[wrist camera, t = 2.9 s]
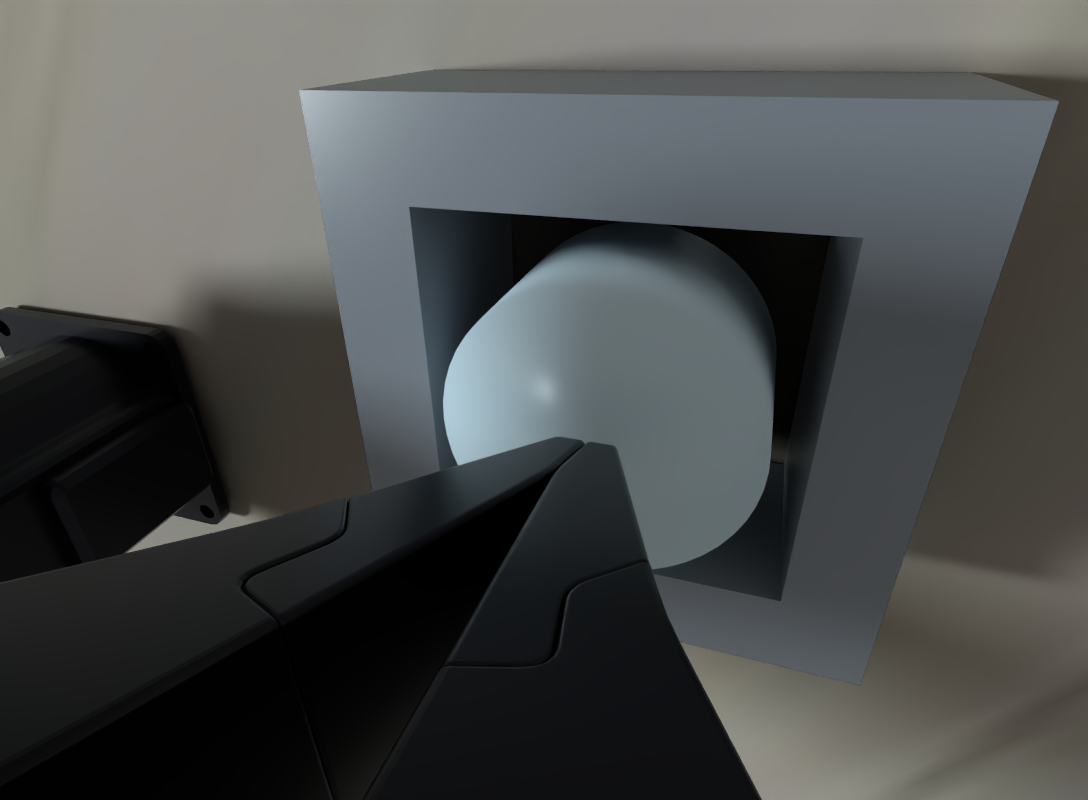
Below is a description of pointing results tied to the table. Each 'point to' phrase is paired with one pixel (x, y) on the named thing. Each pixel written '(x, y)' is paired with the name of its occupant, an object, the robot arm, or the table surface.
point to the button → (631, 376)
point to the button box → (705, 201)
